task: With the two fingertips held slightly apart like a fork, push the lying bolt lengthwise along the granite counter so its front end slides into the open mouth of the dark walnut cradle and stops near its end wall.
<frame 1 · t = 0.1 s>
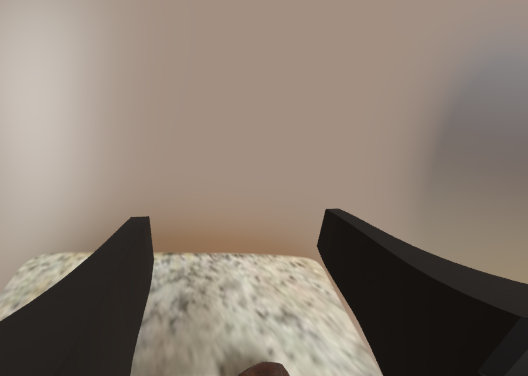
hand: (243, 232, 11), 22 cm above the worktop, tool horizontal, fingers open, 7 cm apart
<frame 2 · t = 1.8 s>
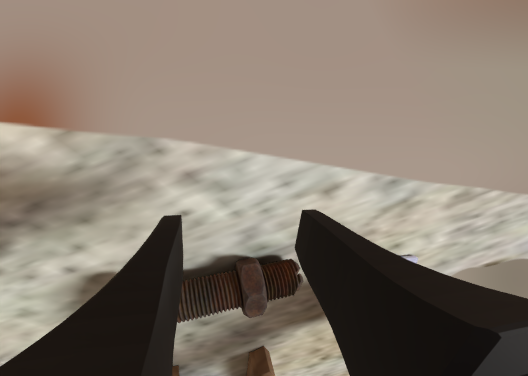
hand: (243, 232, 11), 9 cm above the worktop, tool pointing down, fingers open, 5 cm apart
bolt: (213, 272, 24), on the worktop
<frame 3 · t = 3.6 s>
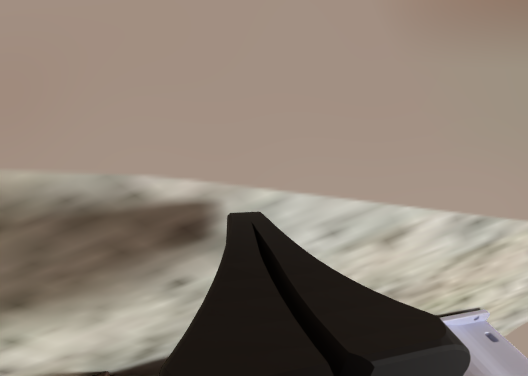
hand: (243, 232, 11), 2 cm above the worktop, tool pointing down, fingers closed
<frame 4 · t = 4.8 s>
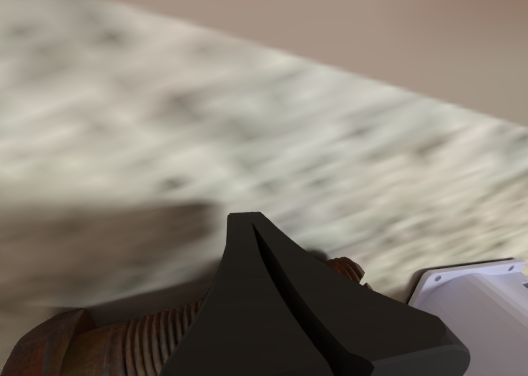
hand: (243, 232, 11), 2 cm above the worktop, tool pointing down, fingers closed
bolt: (215, 290, 14), on the worktop
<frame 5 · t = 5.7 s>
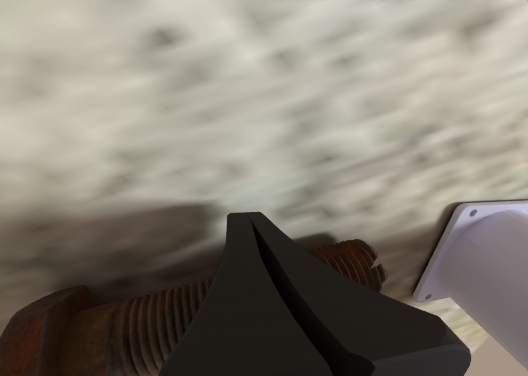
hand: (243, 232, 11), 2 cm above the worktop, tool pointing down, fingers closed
bolt: (221, 272, 14), on the worktop, touching gripper
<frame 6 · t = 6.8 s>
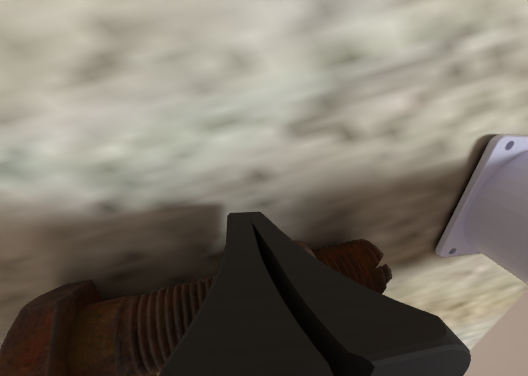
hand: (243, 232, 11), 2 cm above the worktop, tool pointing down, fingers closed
bolt: (226, 270, 14), on the worktop
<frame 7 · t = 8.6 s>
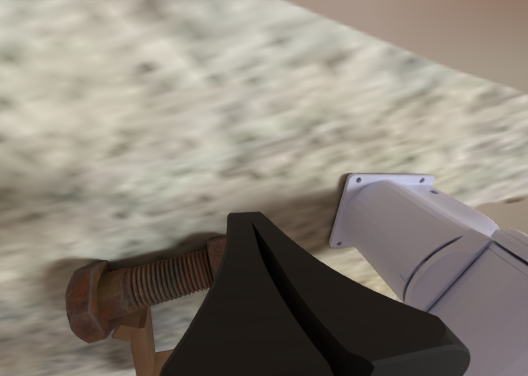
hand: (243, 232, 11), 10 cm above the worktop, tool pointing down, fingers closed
bolt: (187, 254, 23), on the worktop
cradle: (194, 322, 26), on the worktop
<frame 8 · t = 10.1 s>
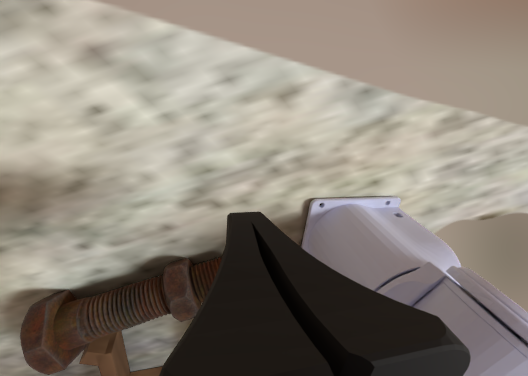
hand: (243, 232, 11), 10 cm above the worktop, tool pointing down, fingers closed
bolt: (151, 278, 23), on the worktop
cradle: (167, 342, 27), on the worktop
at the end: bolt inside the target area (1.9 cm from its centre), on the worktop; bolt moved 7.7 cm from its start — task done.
